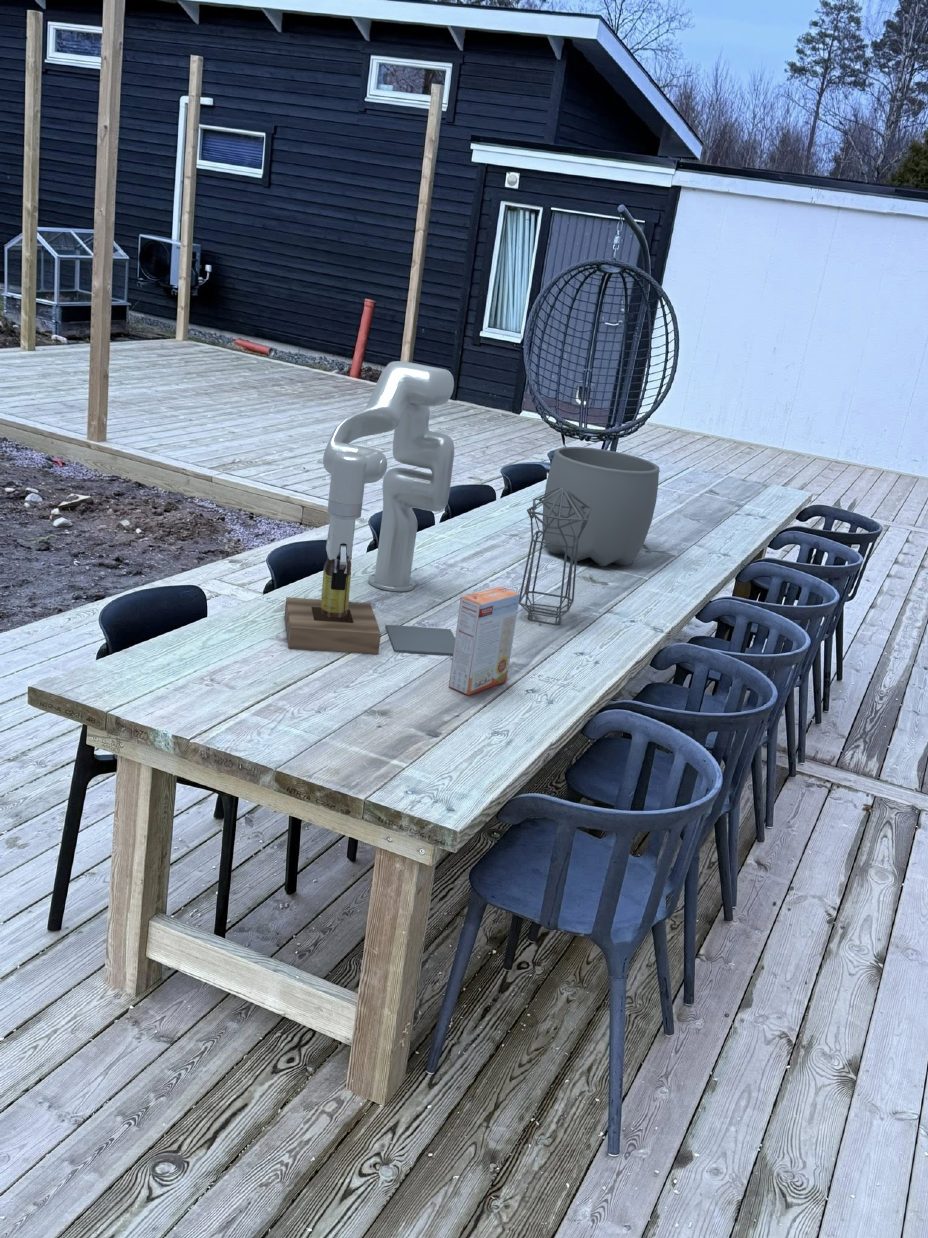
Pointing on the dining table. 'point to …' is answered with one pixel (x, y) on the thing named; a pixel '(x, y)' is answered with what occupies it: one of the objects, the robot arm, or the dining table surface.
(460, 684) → the cracker box
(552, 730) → the dining table surface
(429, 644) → the rubber mat
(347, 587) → the sauce bottle
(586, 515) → the geometric lantern
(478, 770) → the dining table surface
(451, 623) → the dining table surface
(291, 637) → the holder block
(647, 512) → the planter pot
